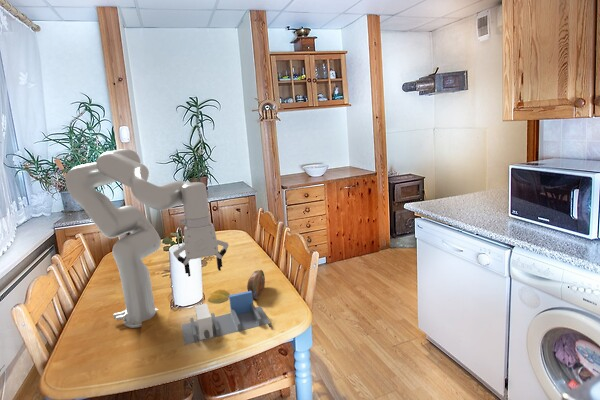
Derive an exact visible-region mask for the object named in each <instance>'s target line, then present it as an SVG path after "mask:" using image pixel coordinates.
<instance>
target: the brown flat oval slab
mask: <svg viewBox="0 0 600 400" xmlns="http://www.w3.org/2000/svg"><path fill="white" fill-rule="evenodd" d="M265 285H266V278H265V274H264V271H263V270H262V269H260V270H259V269H258V270H255V271H253V273H252V274H251V276H250V277H249V279H248V281H247V286H246V289H247V291H252V297H253V300H258V299H259V298H260V296H261V294H262V293H263V290H264V289H265Z"/></svg>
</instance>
